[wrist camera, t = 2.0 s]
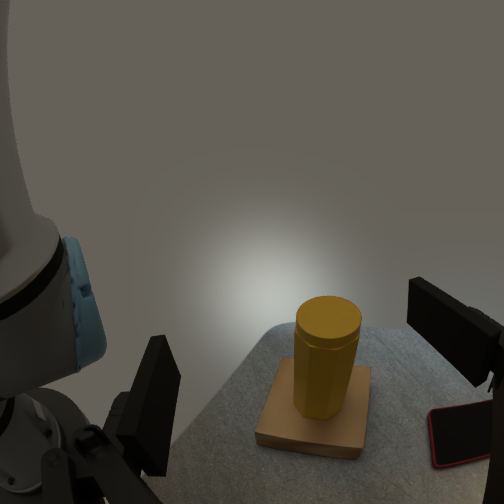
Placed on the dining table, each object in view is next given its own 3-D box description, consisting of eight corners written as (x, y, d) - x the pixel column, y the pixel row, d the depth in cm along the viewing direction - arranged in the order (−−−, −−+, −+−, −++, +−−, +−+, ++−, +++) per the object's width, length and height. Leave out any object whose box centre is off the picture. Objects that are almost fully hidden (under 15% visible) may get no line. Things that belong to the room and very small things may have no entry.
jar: (289, 415, 24) (289, 333, 19) (300, 377, 28) (302, 292, 23) (339, 422, 22) (360, 341, 17) (345, 383, 26) (362, 298, 21)
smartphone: (427, 409, 23) (524, 390, 19) (424, 413, 23) (520, 395, 20) (434, 468, 17) (538, 437, 13) (430, 471, 17) (534, 441, 13)
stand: (256, 444, 24) (248, 404, 20) (282, 373, 32) (281, 323, 29) (356, 459, 21) (377, 422, 17) (366, 383, 29) (380, 334, 26)
